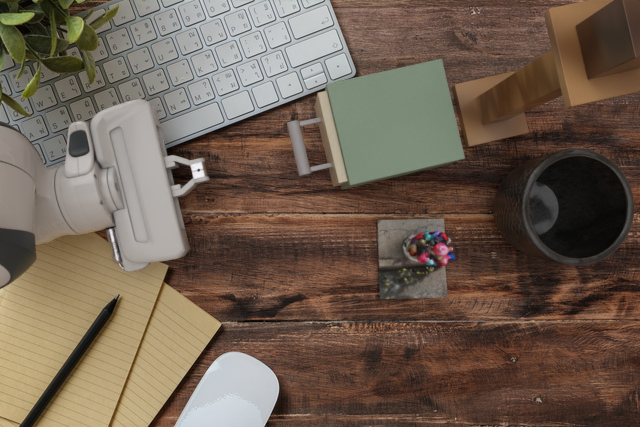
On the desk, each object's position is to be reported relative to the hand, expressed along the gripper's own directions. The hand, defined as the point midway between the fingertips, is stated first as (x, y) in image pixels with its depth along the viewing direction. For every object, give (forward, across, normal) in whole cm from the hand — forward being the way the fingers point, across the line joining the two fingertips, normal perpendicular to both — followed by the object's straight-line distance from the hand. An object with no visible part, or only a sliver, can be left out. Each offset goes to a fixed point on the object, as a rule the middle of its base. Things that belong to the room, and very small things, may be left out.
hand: (207, 169), depth 60 cm
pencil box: (+40, 0, -20) cm, 45 cm away
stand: (+40, 0, +6) cm, 41 cm away
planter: (+42, -15, +6) cm, 45 cm away
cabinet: (+24, 0, +6) cm, 25 cm away
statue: (+24, -18, +6) cm, 31 cm away
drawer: (+20, 0, +5) cm, 21 cm away
